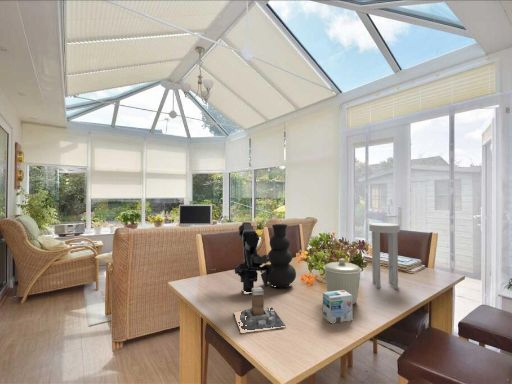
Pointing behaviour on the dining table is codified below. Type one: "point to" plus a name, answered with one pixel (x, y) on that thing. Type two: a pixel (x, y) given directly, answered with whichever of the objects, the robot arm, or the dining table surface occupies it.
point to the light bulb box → (337, 306)
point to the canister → (343, 277)
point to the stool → (392, 251)
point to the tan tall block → (257, 301)
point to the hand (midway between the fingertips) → (257, 287)
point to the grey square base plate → (260, 319)
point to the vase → (280, 258)
